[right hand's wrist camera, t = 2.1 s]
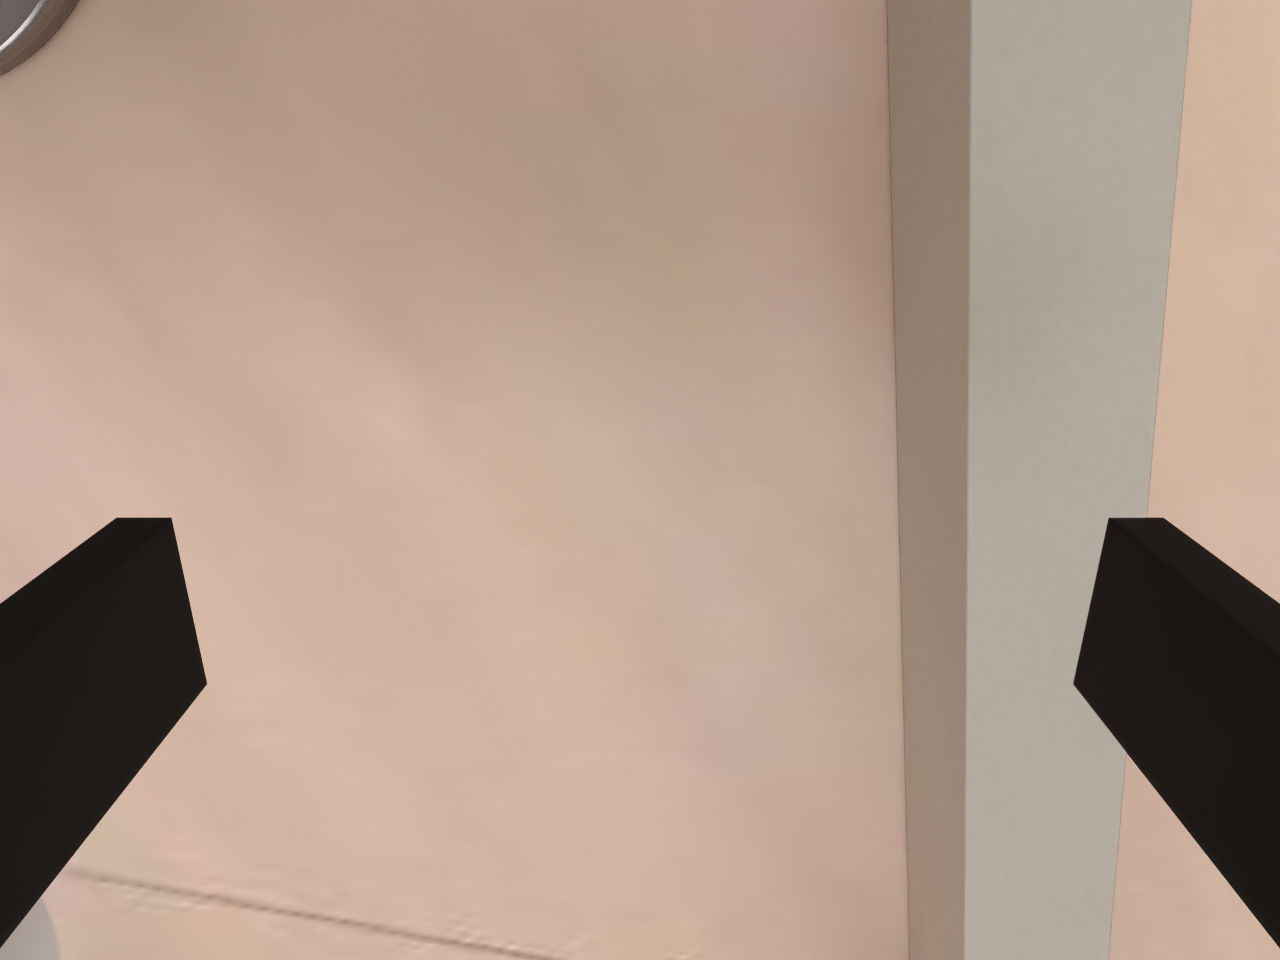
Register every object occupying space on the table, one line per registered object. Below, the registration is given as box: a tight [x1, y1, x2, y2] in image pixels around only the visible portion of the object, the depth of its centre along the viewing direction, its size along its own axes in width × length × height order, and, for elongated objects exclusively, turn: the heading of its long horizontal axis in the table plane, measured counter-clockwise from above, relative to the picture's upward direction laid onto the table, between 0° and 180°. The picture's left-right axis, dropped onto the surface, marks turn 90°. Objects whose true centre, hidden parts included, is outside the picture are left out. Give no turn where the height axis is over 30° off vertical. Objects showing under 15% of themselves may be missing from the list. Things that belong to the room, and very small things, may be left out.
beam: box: [887, 0, 1192, 960], centre depth 32 cm, size 82×5×7 cm, turn 7°
